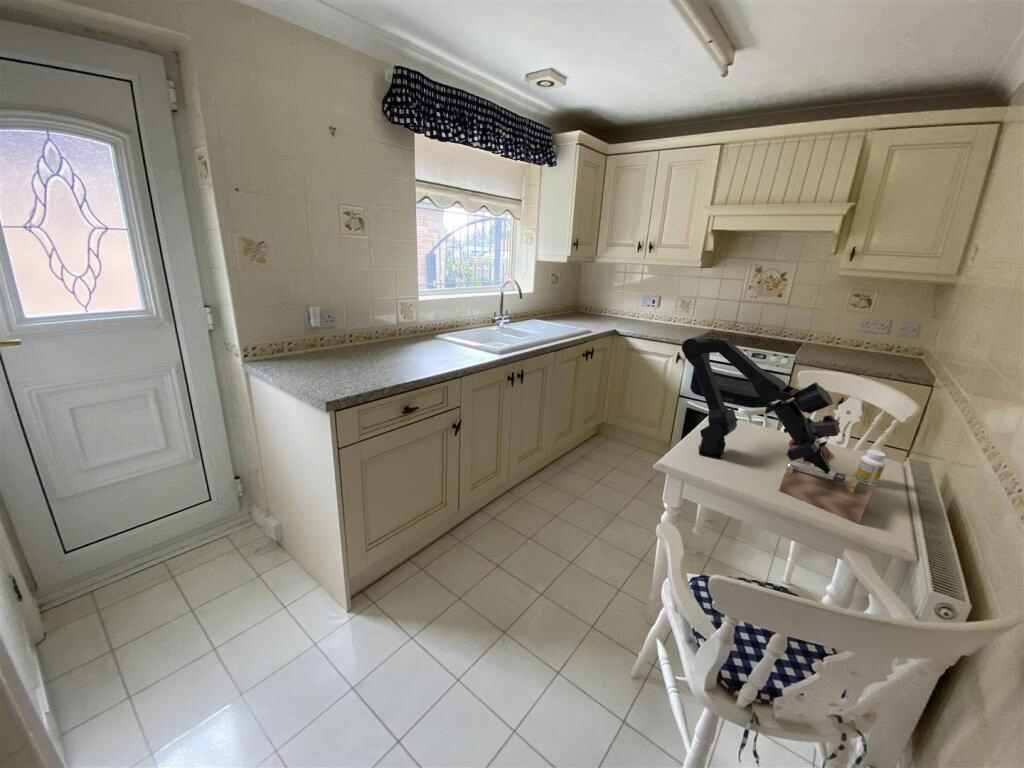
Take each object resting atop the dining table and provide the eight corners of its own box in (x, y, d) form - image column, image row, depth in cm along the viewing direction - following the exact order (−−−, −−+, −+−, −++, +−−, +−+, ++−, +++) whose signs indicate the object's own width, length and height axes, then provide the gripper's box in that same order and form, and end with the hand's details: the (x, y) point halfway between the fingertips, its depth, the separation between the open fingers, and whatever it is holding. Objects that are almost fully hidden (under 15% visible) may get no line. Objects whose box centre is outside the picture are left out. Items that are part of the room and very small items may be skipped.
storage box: (777, 490, 117) (785, 465, 114) (790, 475, 125) (797, 452, 122) (858, 524, 104) (869, 496, 102) (867, 505, 112) (877, 479, 110)
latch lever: (786, 468, 118) (787, 464, 117) (790, 463, 120) (791, 460, 120) (842, 483, 109) (842, 479, 108) (845, 478, 111) (846, 474, 111)
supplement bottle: (872, 478, 126) (883, 450, 123) (880, 488, 121) (892, 458, 118) (851, 474, 128) (861, 446, 124) (858, 483, 123) (869, 454, 119)
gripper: (814, 416, 104) (854, 473, 100) (832, 400, 116) (868, 450, 112) (771, 433, 112) (807, 487, 108) (792, 416, 124) (825, 464, 120)
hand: (828, 471), depth 112 cm, fingers closed, pressing on latch lever
